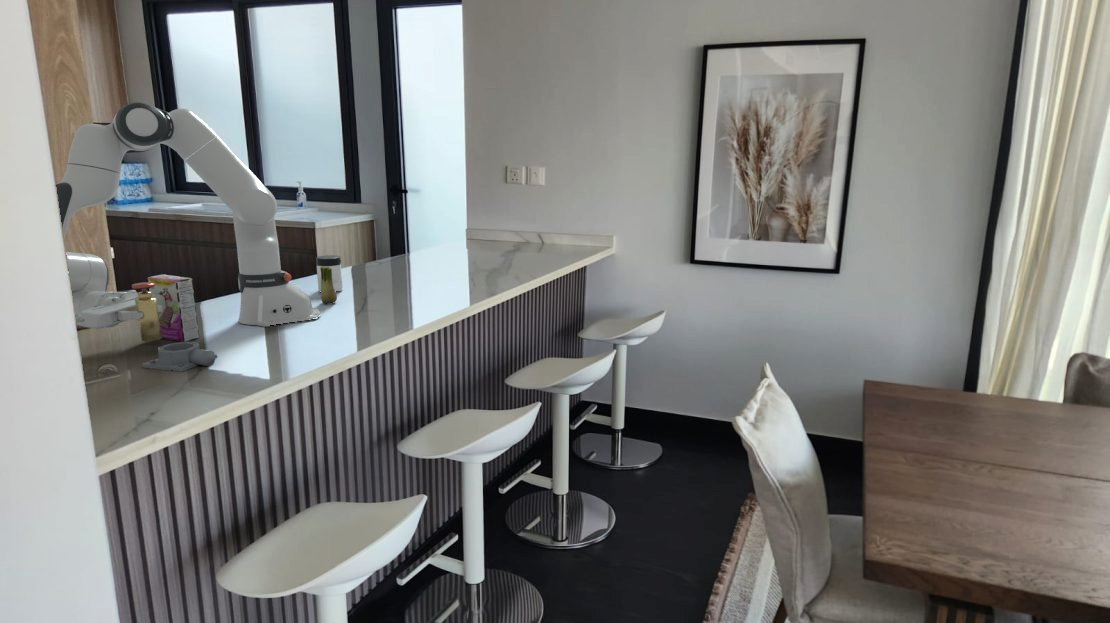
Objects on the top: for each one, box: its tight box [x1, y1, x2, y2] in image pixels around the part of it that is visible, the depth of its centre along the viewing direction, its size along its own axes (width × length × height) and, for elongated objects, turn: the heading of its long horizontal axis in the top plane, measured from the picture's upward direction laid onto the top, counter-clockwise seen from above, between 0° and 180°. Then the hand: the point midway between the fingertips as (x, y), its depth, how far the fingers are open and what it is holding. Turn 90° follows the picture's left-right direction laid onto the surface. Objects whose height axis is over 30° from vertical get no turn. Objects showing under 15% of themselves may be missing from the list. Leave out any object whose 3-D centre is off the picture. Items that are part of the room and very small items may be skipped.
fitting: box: [141, 341, 218, 373], centre depth 160 cm, size 14×11×4 cm
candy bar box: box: [147, 274, 200, 342], centre depth 180 cm, size 11×5×16 cm, turn 66°
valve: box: [131, 281, 163, 342], centre depth 166 cm, size 5×5×14 cm
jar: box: [315, 254, 343, 292], centre depth 240 cm, size 9×8×12 cm
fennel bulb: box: [320, 267, 338, 304], centre depth 221 cm, size 6×5×12 cm
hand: (150, 312), depth 166 cm, fingers closed on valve, 4 cm apart
